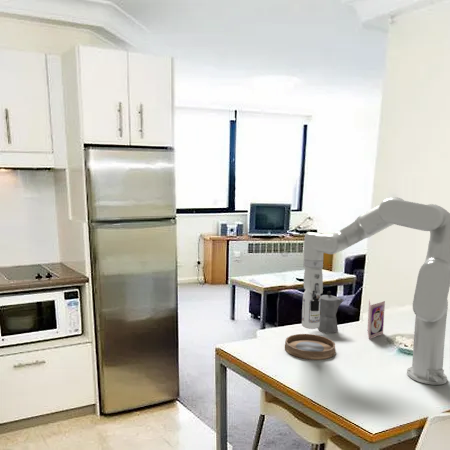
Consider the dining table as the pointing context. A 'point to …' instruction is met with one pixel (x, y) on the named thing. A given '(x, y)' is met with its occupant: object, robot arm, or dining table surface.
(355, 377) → the dining table surface
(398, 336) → the dining table surface
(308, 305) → the bath foam
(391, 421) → the dining table surface
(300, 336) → the round tray
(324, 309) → the coffeepot
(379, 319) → the greeting card
